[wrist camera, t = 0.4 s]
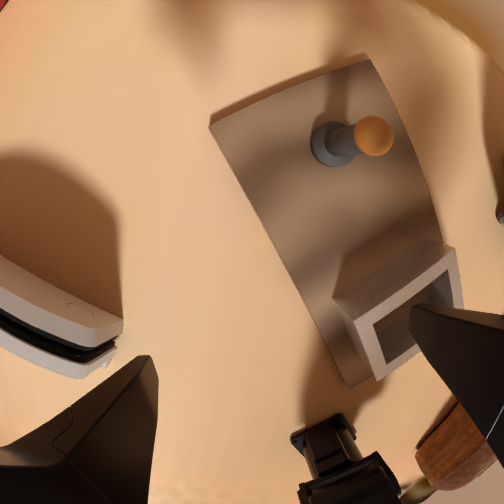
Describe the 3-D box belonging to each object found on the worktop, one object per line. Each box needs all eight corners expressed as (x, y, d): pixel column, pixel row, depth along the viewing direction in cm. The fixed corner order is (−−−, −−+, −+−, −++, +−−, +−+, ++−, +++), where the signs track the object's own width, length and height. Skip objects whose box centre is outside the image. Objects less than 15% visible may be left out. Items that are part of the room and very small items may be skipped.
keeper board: (449, 309, 26) (499, 341, 18) (345, 383, 26) (380, 438, 19) (364, 62, 19) (422, 28, 11) (208, 128, 19) (206, 98, 11)
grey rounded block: (-23, 287, 19) (-85, 291, 9) (-11, 243, 20) (-73, 230, 10) (113, 364, 23) (86, 413, 13) (129, 317, 23) (104, 343, 14)
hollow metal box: (438, 298, 24) (464, 314, 20) (357, 356, 24) (377, 381, 20) (424, 237, 22) (454, 248, 18) (331, 298, 22) (353, 321, 19)
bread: (526, 337, 33) (569, 365, 21) (436, 456, 37) (465, 495, 25) (510, 312, 29) (565, 346, 18) (399, 457, 33) (432, 508, 22)
